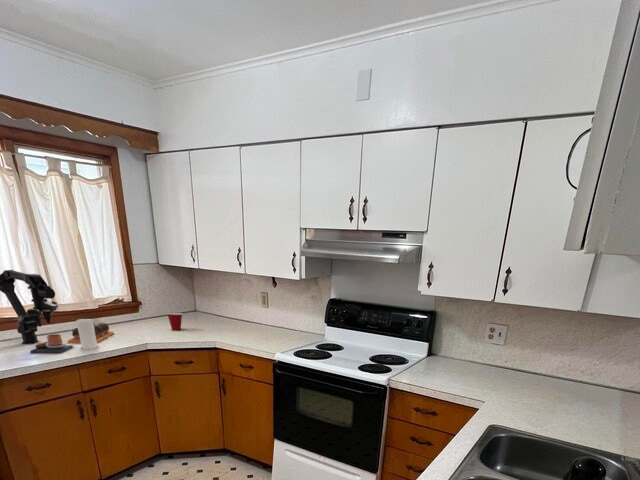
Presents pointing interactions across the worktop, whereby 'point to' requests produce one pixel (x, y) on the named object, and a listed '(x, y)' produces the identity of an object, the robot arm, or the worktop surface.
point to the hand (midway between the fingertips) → (44, 325)
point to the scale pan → (54, 345)
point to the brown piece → (100, 333)
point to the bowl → (54, 339)
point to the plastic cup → (175, 320)
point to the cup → (87, 333)
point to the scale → (51, 349)
